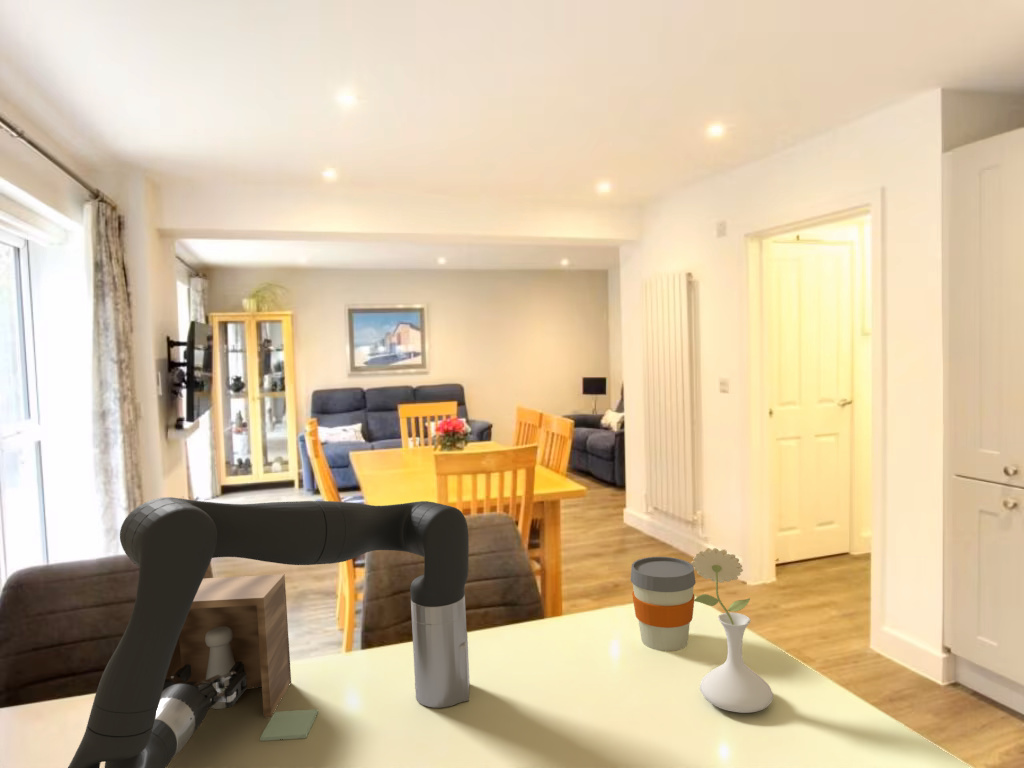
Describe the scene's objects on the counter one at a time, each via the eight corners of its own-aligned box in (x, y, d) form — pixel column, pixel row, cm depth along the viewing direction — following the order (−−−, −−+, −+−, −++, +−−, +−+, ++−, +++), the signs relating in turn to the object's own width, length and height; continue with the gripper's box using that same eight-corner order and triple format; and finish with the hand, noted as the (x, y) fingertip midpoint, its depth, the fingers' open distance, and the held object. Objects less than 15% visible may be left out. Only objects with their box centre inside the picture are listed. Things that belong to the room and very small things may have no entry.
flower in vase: (784, 697, 106) (781, 548, 105) (756, 729, 98) (752, 568, 96) (709, 672, 115) (706, 535, 114) (678, 700, 107) (674, 551, 105)
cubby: (291, 682, 117) (284, 574, 116) (271, 717, 106) (263, 597, 105) (179, 689, 117) (171, 580, 116) (147, 724, 106) (138, 604, 105)
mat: (317, 712, 107) (317, 709, 107) (306, 738, 100) (305, 734, 100) (275, 715, 107) (275, 711, 107) (260, 740, 100) (260, 737, 100)
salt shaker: (227, 713, 108) (222, 637, 107) (197, 711, 109) (192, 636, 109) (248, 694, 114) (243, 623, 113) (219, 692, 115) (214, 621, 114)
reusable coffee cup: (708, 637, 129) (706, 563, 128) (678, 662, 119) (676, 582, 118) (651, 621, 137) (649, 552, 136) (620, 643, 128) (618, 569, 127)
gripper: (216, 695, 93) (255, 643, 109) (114, 702, 92) (169, 649, 108) (219, 746, 93) (258, 687, 109) (118, 752, 92) (173, 692, 109)
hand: (214, 668), depth 109 cm, fingers open, 8 cm apart
